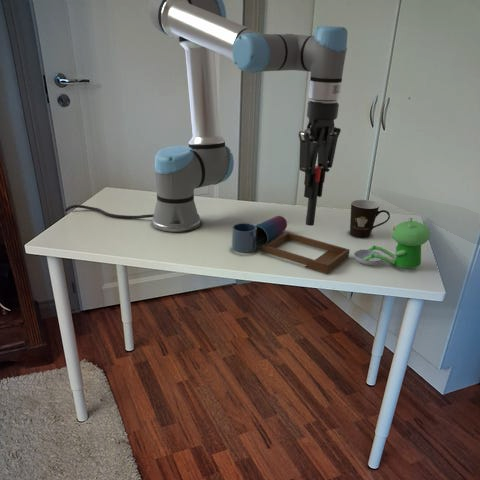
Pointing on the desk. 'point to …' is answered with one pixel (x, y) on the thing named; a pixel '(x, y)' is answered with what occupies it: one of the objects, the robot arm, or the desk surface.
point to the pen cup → (244, 237)
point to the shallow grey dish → (365, 253)
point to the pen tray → (321, 264)
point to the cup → (270, 229)
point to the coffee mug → (364, 217)
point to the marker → (312, 202)
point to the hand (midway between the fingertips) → (312, 196)
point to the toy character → (405, 244)
